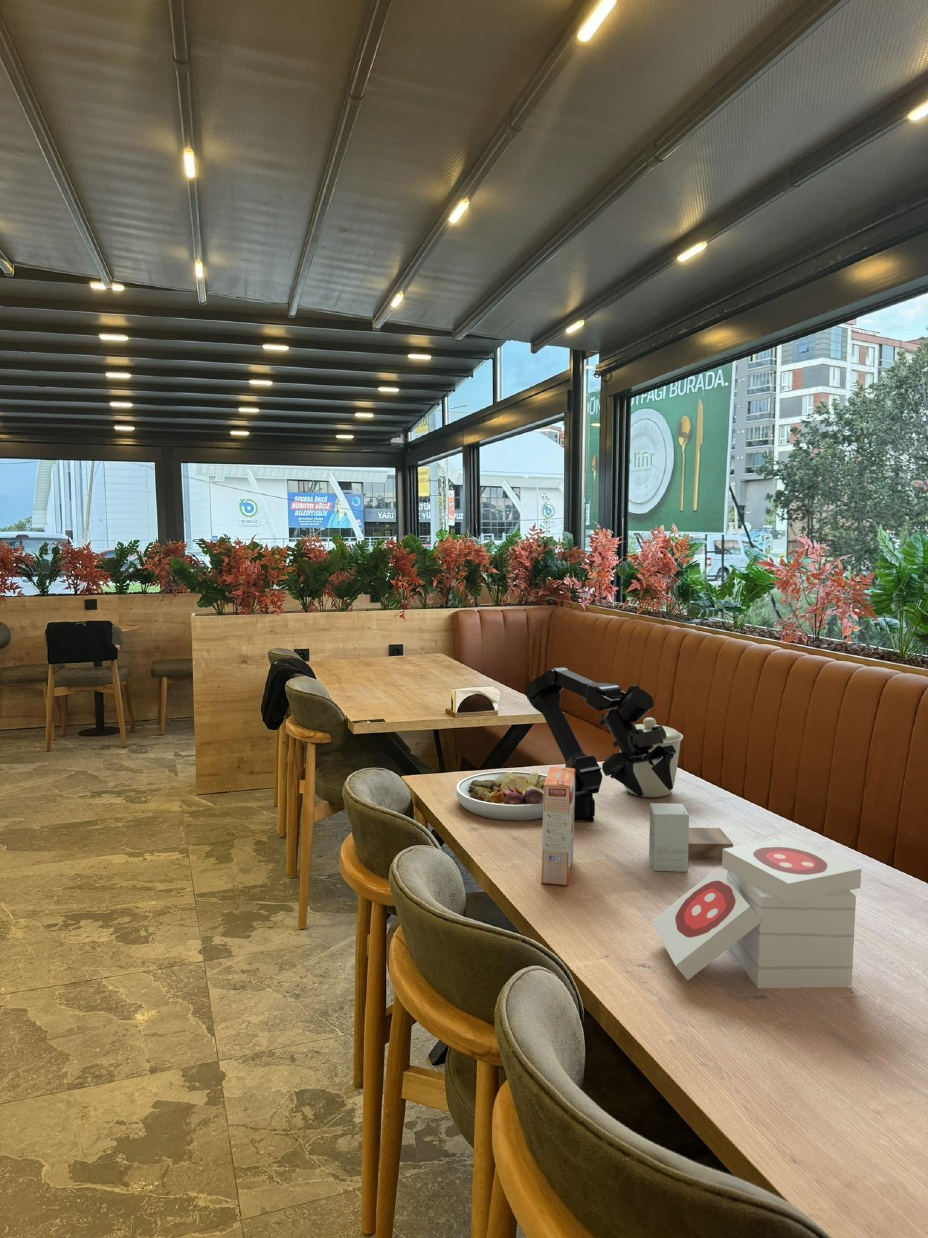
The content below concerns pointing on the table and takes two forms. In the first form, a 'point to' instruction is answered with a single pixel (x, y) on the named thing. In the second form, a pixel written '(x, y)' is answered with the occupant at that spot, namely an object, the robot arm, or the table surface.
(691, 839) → the walnut riser block
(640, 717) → the robot arm
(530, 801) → the bowl
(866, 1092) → the table surface
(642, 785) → the canister
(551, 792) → the cracker box
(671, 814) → the supplement box
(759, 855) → the pizza boxes
